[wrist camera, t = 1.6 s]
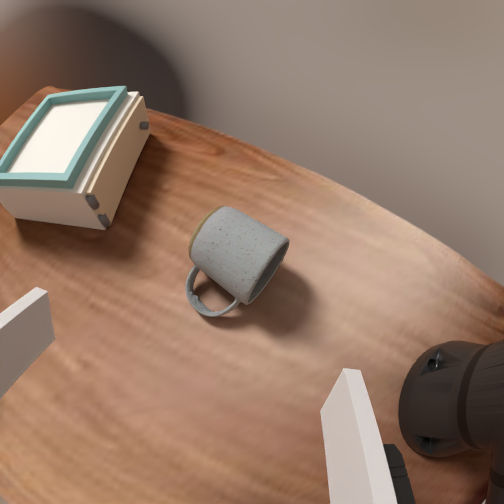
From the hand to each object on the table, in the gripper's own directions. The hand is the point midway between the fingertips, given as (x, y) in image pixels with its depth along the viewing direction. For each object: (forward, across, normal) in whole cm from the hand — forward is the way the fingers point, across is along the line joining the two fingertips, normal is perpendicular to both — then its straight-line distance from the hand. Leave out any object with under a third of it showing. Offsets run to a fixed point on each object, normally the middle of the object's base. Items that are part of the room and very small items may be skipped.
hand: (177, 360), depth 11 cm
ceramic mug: (+21, 0, -6) cm, 22 cm away
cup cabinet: (+29, -26, +2) cm, 39 cm away
